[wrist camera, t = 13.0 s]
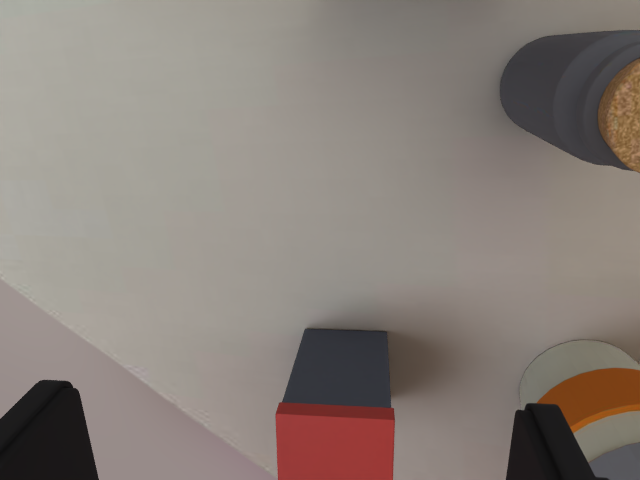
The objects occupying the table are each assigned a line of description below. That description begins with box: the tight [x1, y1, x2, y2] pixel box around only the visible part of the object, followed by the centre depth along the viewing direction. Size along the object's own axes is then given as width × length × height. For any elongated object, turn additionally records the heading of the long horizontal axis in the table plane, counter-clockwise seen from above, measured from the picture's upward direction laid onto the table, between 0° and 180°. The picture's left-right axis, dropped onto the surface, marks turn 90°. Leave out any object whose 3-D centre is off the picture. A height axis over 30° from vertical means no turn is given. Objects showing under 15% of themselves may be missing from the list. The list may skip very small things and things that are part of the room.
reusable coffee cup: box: [519, 340, 640, 480], centre depth 32 cm, size 13×13×15 cm
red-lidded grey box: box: [276, 329, 395, 480], centre depth 35 cm, size 12×7×7 cm
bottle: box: [500, 30, 640, 173], centre depth 25 cm, size 6×6×15 cm
